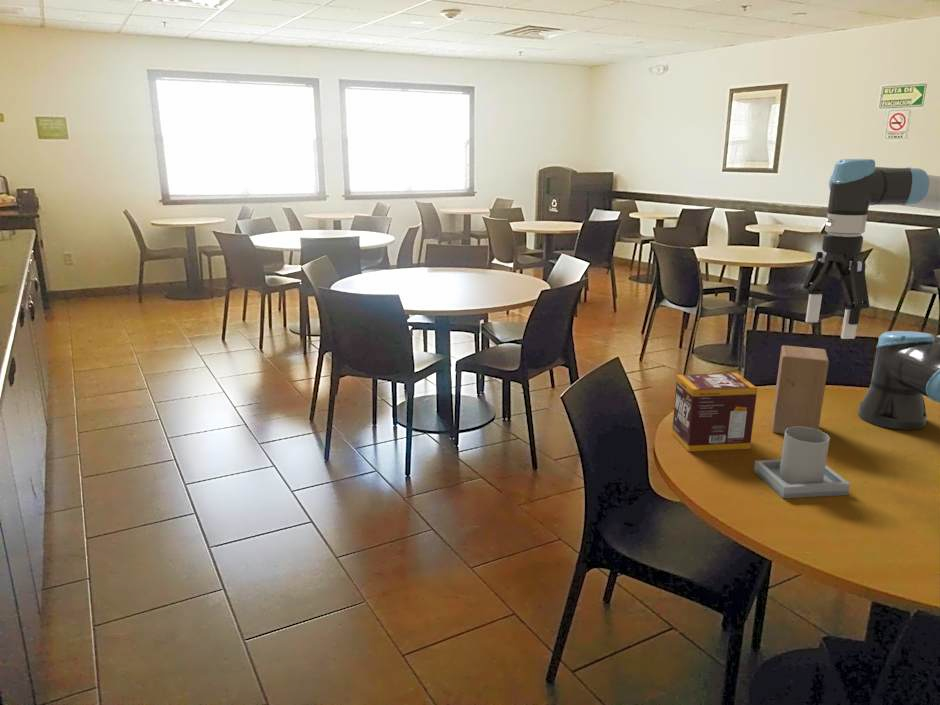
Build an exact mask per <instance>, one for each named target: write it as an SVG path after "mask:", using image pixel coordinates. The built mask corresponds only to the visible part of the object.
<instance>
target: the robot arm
mask: <svg viewBox="0 0 940 705" xmlns="http://www.w3.org/2000/svg"><path fill="white" fill-rule="evenodd" d="M828 187H829V190H830V191H829V197H828V206H827V215H826V219H825V228H824V231H825V232H826V233H824V235H823V237H822V238H823V239H822V245H821V249H822V251H817V252H816V254H815V258H814V263H813V264H812V266H811V268H810V271H809V273H808V275H807V277H806V280H805V282H804V283H803V285H802V286H803V289H804V290H807V294H808V298H807V307H806V314H805V323H819V318H820V311H821V306H822V305H821V304H822V298H823V293H824V292H823V290H824V288H825V287H826V285H827V284H828V283H829V282H830V280H831V279H832V278H835V279H837V281H838V282H840V284H841V287H842V291H843V293H844V297H845V300H846V303H847V306H846V307H845V310H844V316H843V320H842V327H841V334H840V339H843V340H849V339H850V340H851V339H852V340H854V339H855V338H856V333H857V328H858V324H859V321H860V320H859V319H860V315H861V311H862V310H863V309H869V307H870V300H869V294H868V293H869V292H868V285H867V278H866V272H865V271H866V261H864V260H860V261H859V260H858V261H856V255H859V254H860V253H861V252H862V248H863V242H864V237H863V235H862V234H864V233H865V232H866V225H867V219H868V211H869V208H870V206H880V205H881V206H883V205H884V206H885V205H886V206H890V205H894V206H900V207H901V206H903V207H911V208H917V209H926V210H933V211H940V175H933V174H928V173H927V172H926V171H925V170H924V169H922V168H920V167H919V168H915V167H910V166H909V167H886V166H884V167H883V166H882V167H881V166H876V161H875V160H874V159H871V158H842V159H839V160H837V161H836V162H835V164H834V168H833V171H832V174H831V176H830V178H829V182H828ZM875 349H876V350H875V354H874V355H875V356H874V362H873V368H872V374H871V381H870V384H869V388H868V389H867V391H866V393H865V395H864V397H863V399H862V401H861V402H860V403H859V405H858V408H857V415H858V416H859V418H861V419H862V420H863V421H865V422H867V423H870V424H873V425H875V426H879V427H882V428H888V429H894V430H901V431H902V430H903V431H913V430H920V429H924V427H925V426H926V424H927V419H928V418H927V417H928V414H927V410H926V403H925V398H924V396H925V397H927V398H929V399H930V400H932V401H934V402H936V403H940V334H938V335H936V336H934V335H933V334H931V333H928V332H922V331H921V332H920V331H912V330H911V331H910V330H908V331H907V330H892V331H885V332H883V333H881V334H880V335H879V338H878V342H877V345H876V347H875Z"/></svg>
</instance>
